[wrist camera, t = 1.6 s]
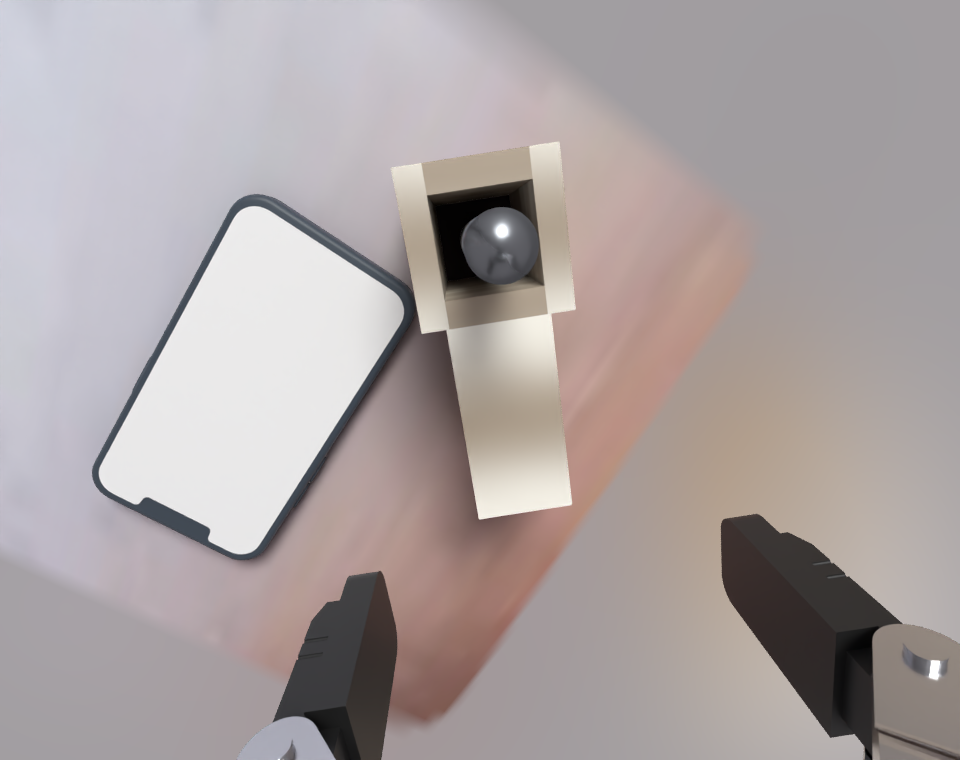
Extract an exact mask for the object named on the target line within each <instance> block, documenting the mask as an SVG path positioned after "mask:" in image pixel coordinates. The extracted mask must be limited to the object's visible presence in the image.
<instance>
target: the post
mask: <svg viewBox="0 0 960 760" xmlns="http://www.w3.org/2000/svg"><path fill="white" fill-rule="evenodd" d="M460 244H461V247H462V250H463V252H464V255H465V258H466V260H467V263H468V265H469V267H470V268H471V270H472V271H473V272H474V273H475V274H476V275H477V276H478V277H479V278H481V279H482V280H484V281H486V282H488V283H491V284H496V285H506V284H511V283H514V282H516V281H518V280H520V279H522V278H523V277H524V276H525V275H527V274H528V273H529V271H530V270H531V269H532V267H533V266H534V264H535V262H536V259H537V256H538V252H539V240H538V235H537V232H536V229H535V227H534V225H533V224H532V222H531V221H530V220H529V219H528V218H527V217H526V216H525V215H524V214H522V213H521V212H519V211H517V210H515V209H512V208H507V207H497V208H492V209H489V210H487V211H485V212H483V213H481V214H480V215H478V216H477V217H476V218H474V219H473V220H471V221H470V222H468V223H467V224H466V225H465V226H464V227H463V228H462V230H461V233H460Z"/></svg>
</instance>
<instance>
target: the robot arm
mask: <svg viewBox="0 0 960 760" xmlns="http://www.w3.org/2000/svg"><path fill="white" fill-rule="evenodd" d="M721 552H722V553H721V554H722V578H723V584H724V588H725V591H726V593H727V596H728V598H729V600H730V602H731V603H732V605H733V606H734V607H735V609H736V610H737V612H738V613H739V614H740V616H741V617H742V618H743V620H744V621H745V622H746V624H747V625H748V626H749V628H750V629H751V630H752V631H753V633H754V635H755V636H756V637H757V639H758V640H759V641H760V642H761V644H762V645H763V647H764V648H765V650H766V651H767V652H768V654H769V655H770V656H771V658H772V659H773V660H774V662H775V663H776V664H777V666H778V667H779V669H780V670H781V671H782V672H783V674H784V675H785V677H786V678H787V679H788V681H789V682H790V683H791V685H792V686H793V688H794V689H795V690H796V692H797V693H798V694H799V696H800V697H801V698H802V700H803V701H804V702H805V704H806V705H807V707H808V708H809V709H810V710H811V712H812V713H813V715H814V716H815V717H816V719H817V720H818V721H819V723H820V724H821V726H822V727H823V728H824V730H825V731H826V732H827V734H828V735H829V736H830V738H831V737H838V736H844V735H851V734H855V735H856V736H857V737H858V739H859V740H860V741H861V743H862V744H863V745H864V751H863V760H960V644H959V643H957V642H956V641H954V640H952V639H951V638H949V637H947V636H945V635H943V634H941V633H938V632H935V631H933V630H930V629H927V628H923V627H920V626H915V625H907V624H902V623H901V622H900V621H899V620H898V619H897V618H896V617H894V616H893V615H892V614H891V613H890V612H889V611H888V610H886V609H885V608H884V607H883V606H882V605H881V604H880V603H878V602H877V601H876V600H875V599H874V598H873V597H872V596H870V595H869V594H868V593H867V592H866V591H865V590H864V589H863V588H861V587H860V586H859V585H858V584H857V583H856V582H855V581H853V580H852V579H851V578H850V577H846V575H845V573H844V572H843V571H842V570H841V569H840V568H839V567H837V566H836V565H835V564H834V563H831V562H830V560H829V559H828V558H827V557H826V556H825V555H824V554H823V553H822V552H820V551H819V550H818V549H817V548H816V547H815V546H814V545H812V544H811V543H808V542H807V541H804V540H802V539H800V538H798V537H796V536H794V535H792V534H790V533H788V532H787V533H779V532H778V531H777V530H776V529H775V528H774V527H772V526H771V525H770V524H769V523H768V522H767V521H766V520H765V519H764V518H763V517H762V516H760V515H758V514H753V515H747V516H741V517H734V518H727V519H724V520H723V521H722V523H721ZM304 641H305V643H304V644H303V645H302V647H301V650H300V653H299V655H298V660H296V663H295V666H294V668H293V671H292V673H291V676H290V679H289V681H288V684H287V687H286V689H285V692H284V694H283V697H282V700H281V702H280V705H279V707H278V710H277V713H276V715H275V718H274V721H273V723H271V724H269V725H268V726H266V727H265V728H263V729H262V730H260V731H259V732H258V733H257V734H256V735H254V736H253V737H252V738H251V739H250V741H249V742H248V743H247V744H246V745H245V746H244V748H243V749H242V751H241V752H240V754H239V756H238V758H237V760H381V757H382V750H383V744H384V737H385V730H386V724H387V717H388V710H389V703H390V697H391V690H392V683H393V677H394V670H395V663H396V657H397V632H396V625H395V621H394V616H393V612H392V608H391V604H390V600H389V596H388V592H387V587H386V583H385V579H384V576H383V574H382V572H381V571H379V572H372V573H366V574H360V575H353V576H349V577H348V578H347V581H346V584H345V587H344V590H343V593H342V596H341V599H340V601H334V602H327V603H326V604H325V606H324V607H323V608H322V609H321V610H320V611H319V613H318V614H317V615H316V616H315V617H314V618H313V620H312V621H311V624H310V626H309V629H308V632H307V634H306V637H305V640H304Z"/></svg>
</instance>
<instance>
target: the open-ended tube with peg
mask: <svg viewBox="0 0 960 760" xmlns="http://www.w3.org/2000/svg"><path fill="white" fill-rule="evenodd" d="M391 171H392V177H393V182H394V187H395V193H396V198H397V204H398V209H399V214H400V220H401V225H402V230H403V236H404V241H405V246H406V252H407V257H408V263H409V268H410V273H411V279H412V284H413V289H414V295H415V300H416V306H417V311H418V316H419V322H420V327H421V332H422V334H424V333H431V332H437V331H443V330H446V331H447V336H448V342H449V348H450V354H451V360H452V366H453V371H454V377H455V383H456V389H457V395H458V401H459V406H460V412H461V418H462V424H463V430H464V435H465V441H466V447H467V453H468V459H469V465H470V470H471V476H472V482H473V488H474V494H475V500H476V505H477V511H478V517H479V519H486V518H492V517H498V516H505V515H511V514H517V513H524V512H530V511H536V510H543V509H549V508H555V507H562V506H568V505H572V499H571V490H570V481H569V472H568V463H567V454H566V445H565V435H564V426H563V417H562V408H561V399H560V390H559V381H558V372H557V363H556V354H555V345H554V336H553V327H552V318H551V314H552V313H558V312H564V311H571V310H576V308H575V298H574V288H573V277H572V267H571V257H570V246H569V236H568V225H567V215H566V205H565V194H564V184H563V174H562V163H561V153H560V143H559V142H553V143H546V144H540V145H534V146H527V147H521V148H515V149H508V150H502V151H495V152H489V153H483V154H476V155H470V156H463V157H457V158H451V159H444V160H438V161H432V162H425V163H419V164H412V165H406V166H400V167H393V168H391ZM505 195H509V198H510V206H511V208H512V209H515V210H517V211H519V212H521V213H522V214H524V215H525V216H526V217H527V218H528V219H529V220H530V221H531V222H532V224H533V225H534V227H535V229H536V232H537V235H538V240H539V252H538V256H537V259H536V262H535V264H534V266H533V267H532V269H531V270H530V271H529V273H528V274H527V275H525V276H524V277H523V278H522V279H520V280H518V281H516V282H514V283H511V284H506V285H496V284H491V283H488V282H486V281H484V280H482V279H481V278H479V277H478V276H476V277H470V278H464V279H457V280H451V281H448V278H447V272H446V266H445V260H444V254H443V248H442V242H441V236H440V230H439V224H438V218H437V212H436V206H441V205H447V204H454V203H460V202H466V201H473V200H479V199H486V198H492V197H498V196H505Z"/></svg>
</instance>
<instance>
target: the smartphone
mask: <svg viewBox="0 0 960 760" xmlns="http://www.w3.org/2000/svg"><path fill="white" fill-rule="evenodd" d="M415 309H416V304H415V298H414V295H413V293H412V292H411V290H410V288H409V287H408V286H407V285H406V284H405V283H404V282H402V281H401V280H399V279H398V278H396V277H395V276H393V275H392V274H390V273H389V272H387V271H386V270H384V269H383V268H381V267H380V266H378V265H377V264H375V263H374V262H372V261H371V260H369V259H368V258H366V257H364V256H363V255H361V254H360V253H358V252H357V251H355V250H354V249H352V248H351V247H349V246H348V245H346V244H345V243H343V242H342V241H340V240H339V239H337V238H336V237H334V236H333V235H331V234H330V233H328V232H327V231H325V230H323V229H322V228H320V227H319V226H317V225H316V224H314V223H313V222H311V221H310V220H308V219H307V218H305V217H304V216H302V215H301V214H299V213H298V212H296V211H295V210H293V209H292V208H290V207H289V206H287V205H286V204H284V203H282V202H281V201H279V200H277V199H275V198H273V197H269V196H265V195H259V194H254V195H248V196H245V197H243V198H241V199H239V200H238V201H237V202H236V203H234V205H233V206H232V207H231V209H230V211H229V212H228V214H227V216H226V218H225V220H224V222H223V224H222V226H221V227H220V229H219V231H218V233H217V235H216V237H215V239H214V241H213V242H212V244H211V246H210V248H209V250H208V252H207V254H206V255H205V257H204V259H203V261H202V263H201V265H200V267H199V269H198V270H197V272H196V274H195V276H194V278H193V280H192V282H191V283H190V285H189V287H188V289H187V291H186V293H185V295H184V297H183V298H182V300H181V302H180V304H179V306H178V308H177V310H176V312H175V313H174V315H173V317H172V319H171V321H170V323H169V325H168V326H167V328H166V330H165V332H164V334H163V336H162V338H161V340H160V341H159V343H158V345H157V347H156V349H155V351H154V353H153V354H152V356H151V357H150V358H149V360H148V362H147V364H146V366H145V368H144V369H143V371H142V373H141V375H140V377H139V379H138V381H137V383H136V384H135V386H134V388H133V391H132V394H131V396H130V397H129V399H128V401H127V403H126V405H125V407H124V409H123V411H122V412H121V414H120V416H119V418H118V420H117V422H116V424H115V425H114V427H113V429H112V431H111V433H110V435H109V437H108V439H107V440H106V442H105V444H104V446H103V448H102V450H101V452H100V454H99V455H98V457H97V459H96V461H95V463H94V465H93V469H92V476H93V481H94V483H95V485H96V487H97V488H98V489H99V491H100V492H101V493H103V494H104V495H105V496H107V497H108V498H110V499H112V500H114V501H116V502H118V503H120V504H122V505H124V506H126V507H128V508H130V509H132V510H134V511H136V512H138V513H140V514H142V515H144V516H147V517H149V518H151V519H153V520H155V521H157V522H159V523H161V524H163V525H165V526H167V527H169V528H171V529H173V530H175V531H177V532H179V533H181V534H183V535H185V536H187V537H189V538H191V539H193V540H195V541H197V542H199V543H201V544H203V545H205V546H207V547H209V548H211V549H213V550H215V551H217V552H219V553H221V554H223V555H225V556H227V557H230V558H232V559H236V560H249V559H253V558H255V557H257V556H259V555H260V554H261V553H263V552H264V550H265V549H266V548H267V546H268V545H269V543H270V542H271V540H272V538H273V537H274V535H275V534H276V532H277V531H278V529H279V528H280V526H281V524H282V523H283V521H284V520H285V518H286V517H287V515H288V514H289V512H290V510H291V509H292V507H296V505H297V504H298V502H299V501H300V499H301V497H302V496H303V494H304V493H305V491H306V490H307V488H308V486H309V485H310V483H309V481H310V482H311V481H312V480H313V479H314V477H315V476H316V474H317V473H318V471H319V469H320V468H321V466H322V465H323V463H324V462H325V460H326V457H325V456H326V454H327V453H328V451H329V450H330V448H331V447H332V445H333V444H334V442H335V440H336V439H337V437H338V436H339V434H340V433H341V431H342V430H343V428H344V426H345V425H346V423H347V422H348V420H349V419H350V417H351V416H352V414H353V412H354V411H355V409H356V408H357V406H358V405H359V403H360V402H361V400H362V398H363V397H364V395H365V394H366V392H367V391H368V389H369V388H370V386H371V384H372V383H373V381H374V380H375V378H376V377H377V375H378V374H379V372H380V370H381V369H382V367H383V366H384V364H385V363H386V361H387V360H388V358H389V356H390V355H391V353H392V352H393V350H394V349H395V347H396V346H397V344H398V342H399V341H400V339H401V338H402V336H403V335H404V333H405V332H406V330H407V328H408V327H409V325H410V324H411V322H412V320H413V318H414V314H415Z"/></svg>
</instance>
